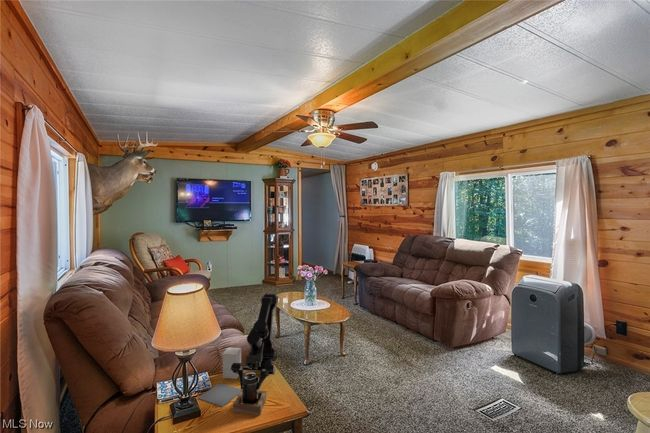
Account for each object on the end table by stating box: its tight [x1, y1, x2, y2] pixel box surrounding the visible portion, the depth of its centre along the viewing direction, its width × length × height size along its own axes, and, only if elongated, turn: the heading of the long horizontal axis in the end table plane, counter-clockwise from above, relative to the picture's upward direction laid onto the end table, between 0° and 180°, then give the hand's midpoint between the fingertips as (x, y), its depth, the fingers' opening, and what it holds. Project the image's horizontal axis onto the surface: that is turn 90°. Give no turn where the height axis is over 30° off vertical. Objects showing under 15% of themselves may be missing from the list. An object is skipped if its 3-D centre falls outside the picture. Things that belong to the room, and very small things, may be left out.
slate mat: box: [197, 382, 242, 408], centre depth 156 cm, size 14×14×1 cm
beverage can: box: [242, 371, 260, 404], centre depth 148 cm, size 7×7×12 cm
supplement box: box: [222, 347, 242, 380], centre depth 173 cm, size 7×7×13 cm
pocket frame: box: [232, 390, 267, 416], centre depth 148 cm, size 12×12×4 cm
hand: (249, 389), depth 146 cm, fingers closed on beverage can, 7 cm apart
